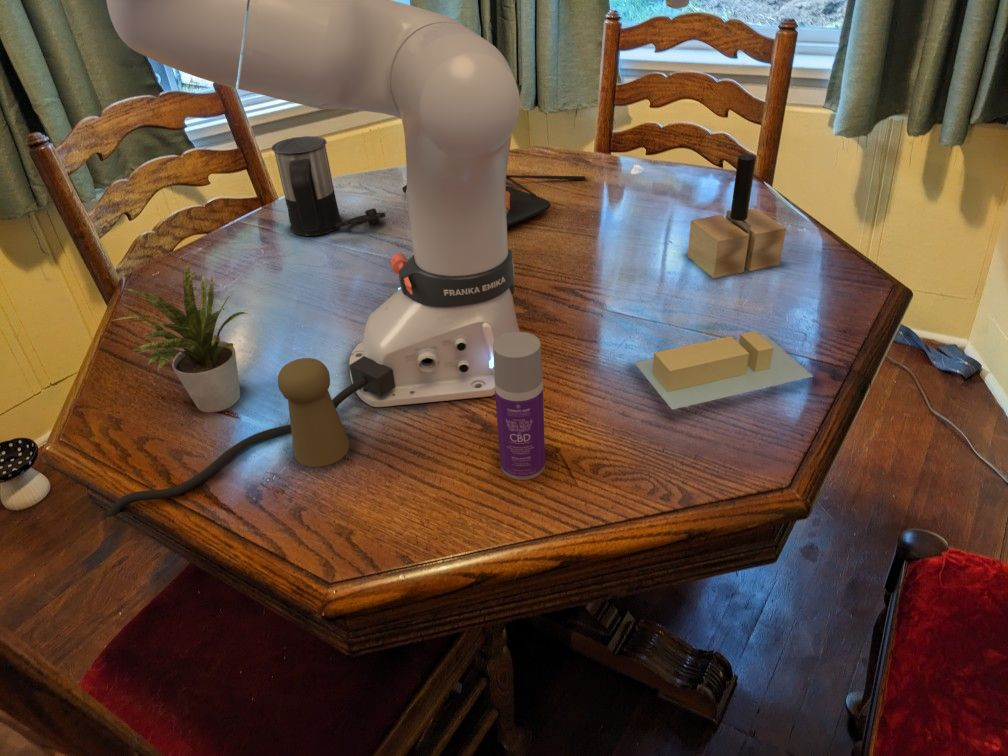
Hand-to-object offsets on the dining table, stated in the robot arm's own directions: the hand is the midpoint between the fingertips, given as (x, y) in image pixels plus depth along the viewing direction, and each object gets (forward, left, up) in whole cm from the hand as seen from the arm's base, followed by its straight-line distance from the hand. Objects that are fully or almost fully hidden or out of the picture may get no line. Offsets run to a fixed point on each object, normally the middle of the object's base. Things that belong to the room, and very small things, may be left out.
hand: (656, 0), depth 76 cm
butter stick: (+1, -15, -38) cm, 41 cm away
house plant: (-55, +3, -39) cm, 68 cm away
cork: (-43, -12, -39) cm, 59 cm away
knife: (+21, +11, -39) cm, 45 cm away
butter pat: (+8, -15, -38) cm, 41 cm away
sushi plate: (-3, +52, -39) cm, 65 cm away
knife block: (+21, +11, -39) cm, 45 cm away
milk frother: (-35, +49, -39) cm, 72 cm away
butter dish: (+4, -15, -39) cm, 42 cm away
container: (-23, -22, -39) cm, 50 cm away
